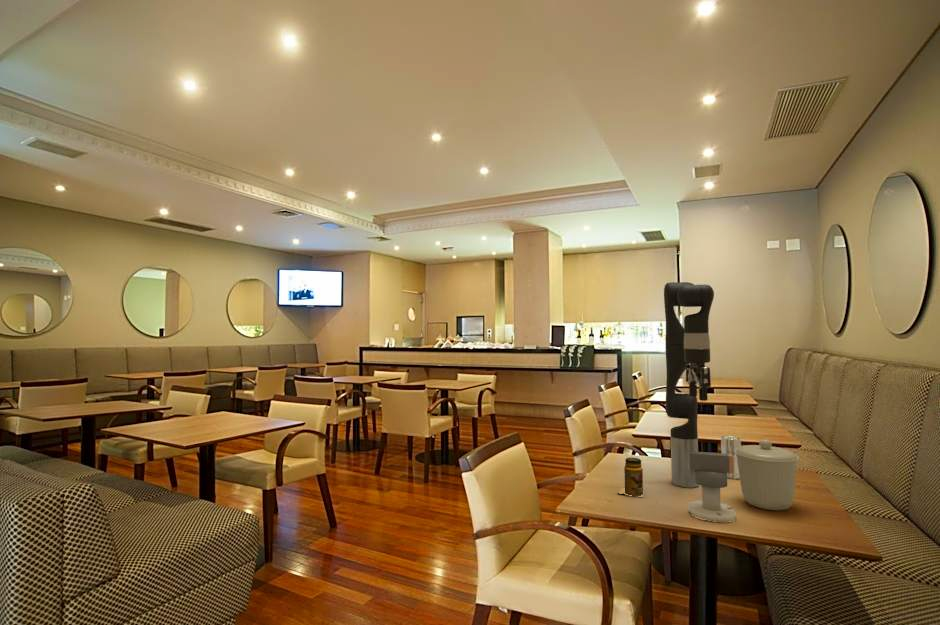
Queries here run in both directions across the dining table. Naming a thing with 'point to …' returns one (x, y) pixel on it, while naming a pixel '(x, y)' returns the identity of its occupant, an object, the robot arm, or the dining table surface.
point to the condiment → (633, 477)
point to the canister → (767, 475)
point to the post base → (712, 514)
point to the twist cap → (711, 468)
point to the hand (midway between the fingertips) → (698, 398)
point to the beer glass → (731, 452)
